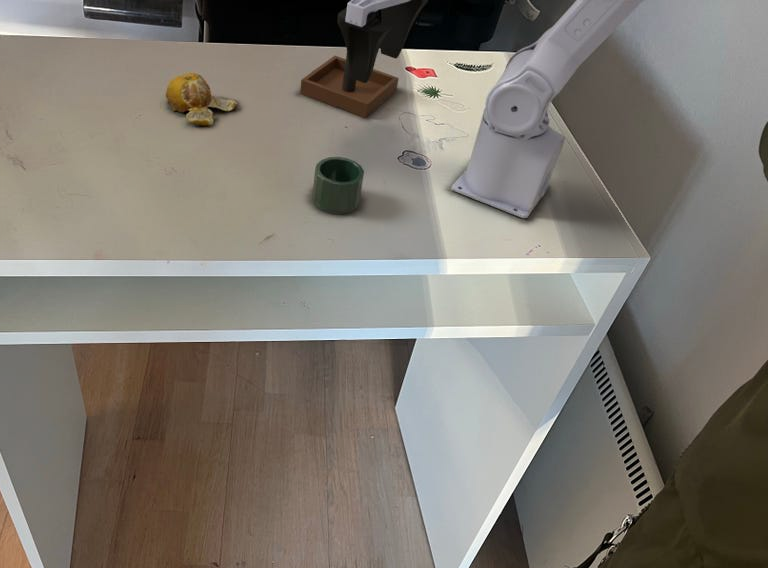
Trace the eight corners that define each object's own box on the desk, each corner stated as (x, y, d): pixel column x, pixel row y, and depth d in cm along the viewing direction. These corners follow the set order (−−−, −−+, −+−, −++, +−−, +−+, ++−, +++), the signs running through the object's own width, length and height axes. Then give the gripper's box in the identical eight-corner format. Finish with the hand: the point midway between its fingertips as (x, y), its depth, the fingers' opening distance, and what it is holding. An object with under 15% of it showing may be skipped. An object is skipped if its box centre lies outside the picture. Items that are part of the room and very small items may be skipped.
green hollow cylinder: (367, 197, 87) (372, 168, 84) (344, 220, 84) (349, 190, 81) (327, 180, 89) (330, 151, 86) (303, 202, 86) (306, 172, 83)
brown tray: (396, 91, 105) (398, 77, 103) (365, 118, 99) (367, 104, 98) (333, 68, 108) (334, 55, 106) (299, 93, 102) (301, 79, 101)
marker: (357, 88, 104) (366, 30, 98) (351, 93, 102) (359, 35, 96) (345, 84, 104) (353, 26, 98) (339, 89, 103) (346, 31, 97)
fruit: (201, 131, 94) (200, 104, 91) (150, 108, 97) (149, 81, 94) (240, 106, 99) (241, 79, 96) (191, 85, 102) (191, 59, 99)
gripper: (392, -88, 82) (373, 35, 92) (326, -52, 74) (313, 79, 84) (451, -72, 80) (424, 52, 90) (390, -33, 72) (368, 100, 82)
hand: (374, 67), depth 87 cm, fingers open, 7 cm apart
